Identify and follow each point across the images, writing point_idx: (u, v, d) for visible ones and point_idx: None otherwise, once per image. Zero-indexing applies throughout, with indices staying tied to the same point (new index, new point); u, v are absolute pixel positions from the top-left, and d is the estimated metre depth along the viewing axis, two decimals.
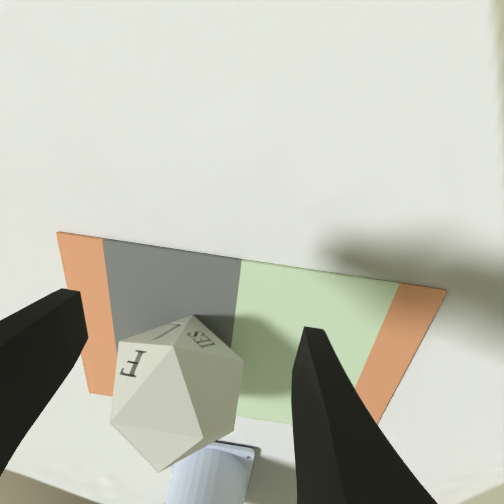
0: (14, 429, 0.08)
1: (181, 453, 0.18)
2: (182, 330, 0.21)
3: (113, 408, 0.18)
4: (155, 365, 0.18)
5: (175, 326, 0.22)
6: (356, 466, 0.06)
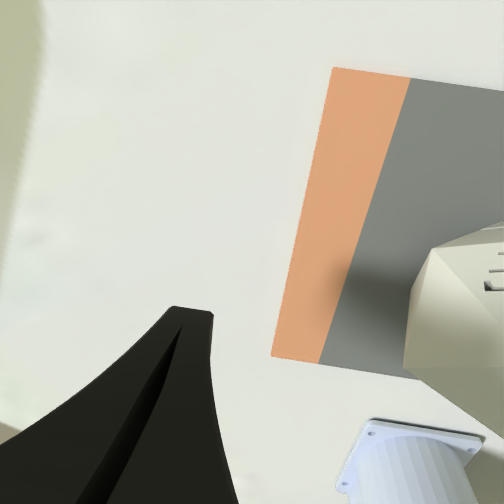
0: None
1: None
2: None
3: None
4: None
5: None
6: (162, 434, 0.06)
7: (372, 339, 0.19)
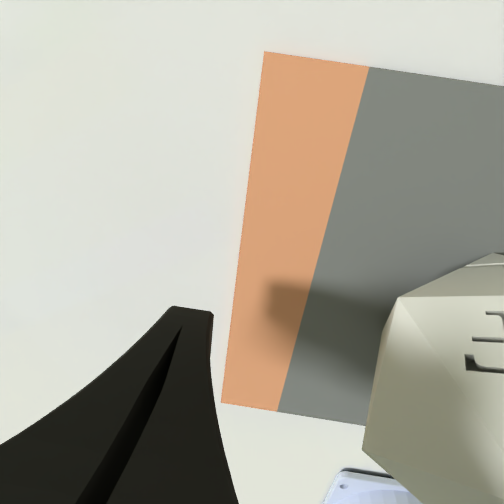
0: None
1: None
2: None
3: None
4: None
5: (502, 268, 0.10)
6: (161, 434, 0.06)
7: (339, 387, 0.16)
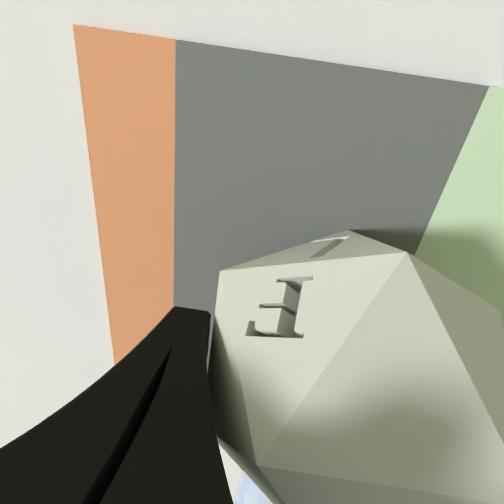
0: None
1: None
2: (370, 239, 0.09)
3: (255, 422, 0.06)
4: (363, 303, 0.07)
5: (334, 242, 0.10)
6: (157, 434, 0.06)
7: None
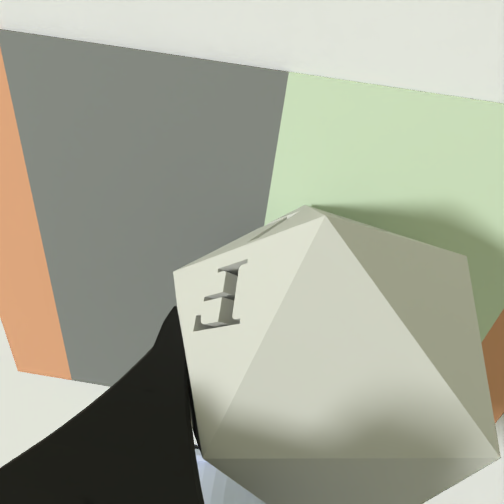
0: None
1: None
2: (312, 210, 0.09)
3: (201, 415, 0.06)
4: (289, 276, 0.06)
5: (284, 220, 0.10)
6: (132, 429, 0.06)
7: (115, 353, 0.16)
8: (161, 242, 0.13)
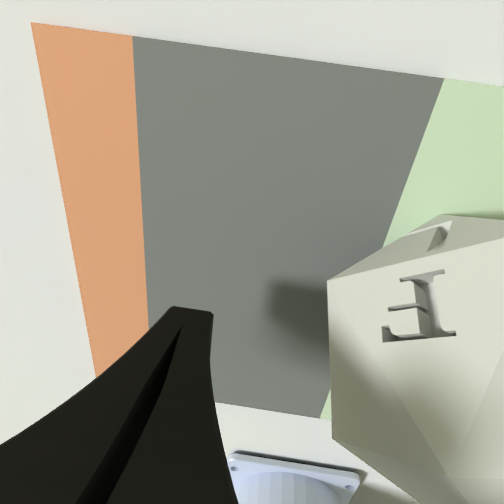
0: None
1: None
2: (486, 219, 0.08)
3: (429, 431, 0.06)
4: None
5: (437, 229, 0.10)
6: (161, 434, 0.06)
7: None
8: (272, 255, 0.13)
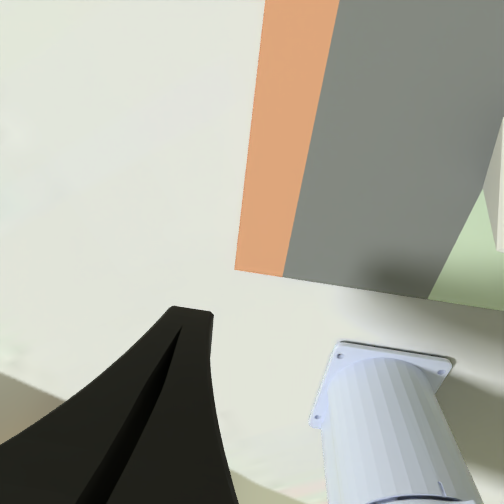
0: None
1: None
2: None
3: None
4: None
5: None
6: (161, 434, 0.06)
7: (335, 246, 0.19)
8: (422, 129, 0.15)
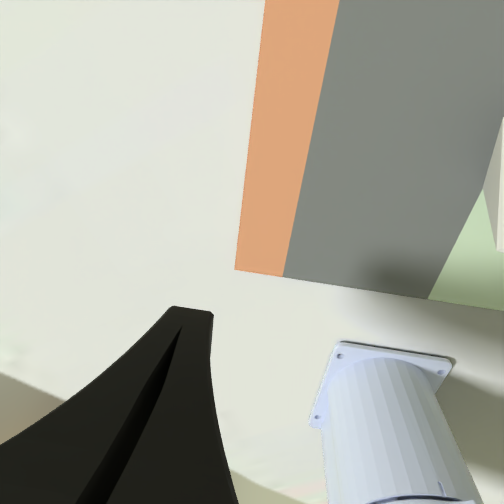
0: None
1: None
2: None
3: None
4: None
5: None
6: (161, 434, 0.06)
7: (335, 246, 0.19)
8: (422, 129, 0.15)
